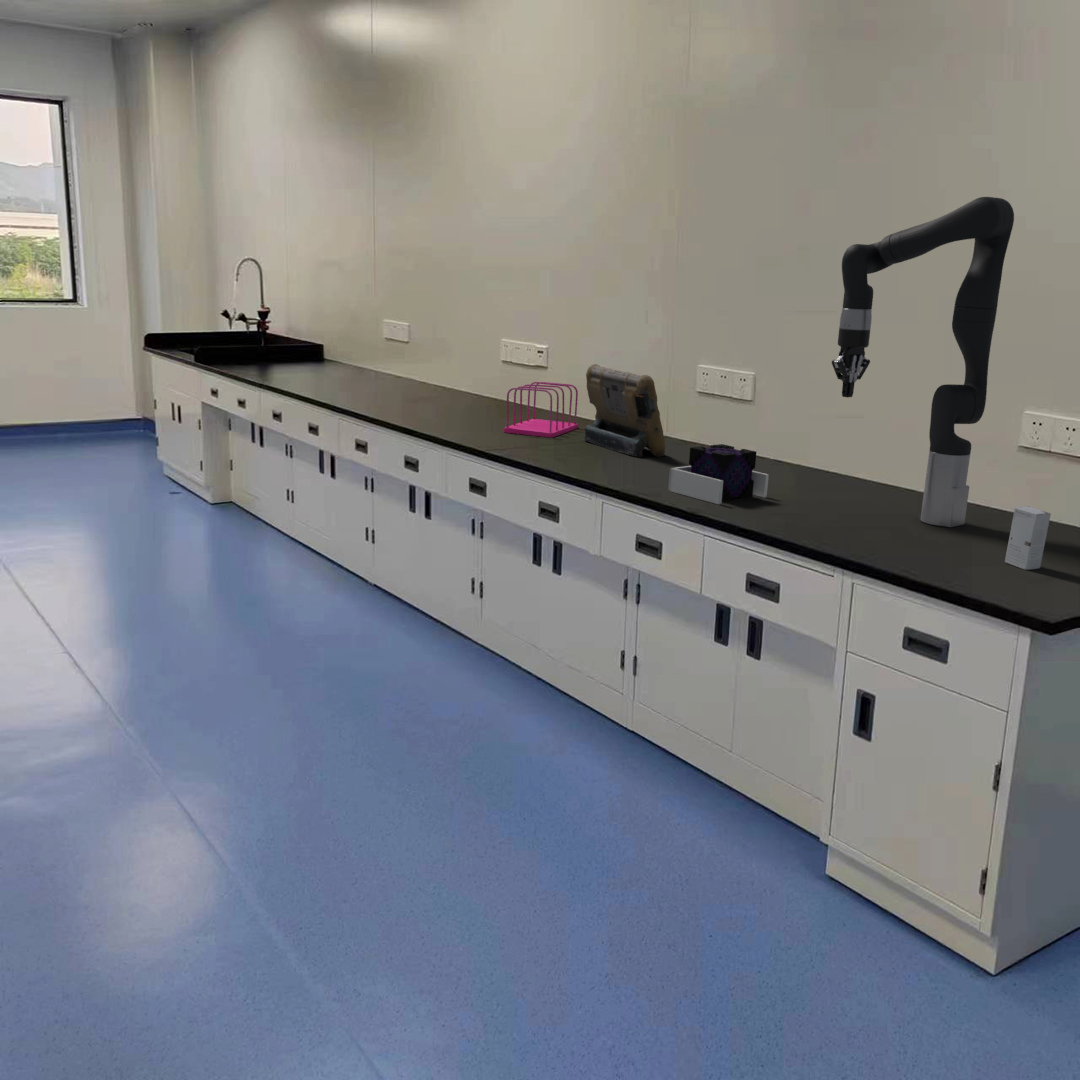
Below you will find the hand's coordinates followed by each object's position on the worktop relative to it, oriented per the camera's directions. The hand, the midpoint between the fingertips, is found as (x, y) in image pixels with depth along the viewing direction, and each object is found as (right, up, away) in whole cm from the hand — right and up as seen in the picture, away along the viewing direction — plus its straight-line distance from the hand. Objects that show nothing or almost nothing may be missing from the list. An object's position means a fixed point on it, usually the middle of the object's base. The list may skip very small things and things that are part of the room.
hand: (847, 396), depth 282 cm
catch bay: (-31, -24, +10) cm, 41 cm away
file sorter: (-77, +1, +98) cm, 125 cm away
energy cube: (-31, -25, +9) cm, 40 cm away
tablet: (-51, -8, +70) cm, 88 cm away
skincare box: (+24, -42, -47) cm, 68 cm away
